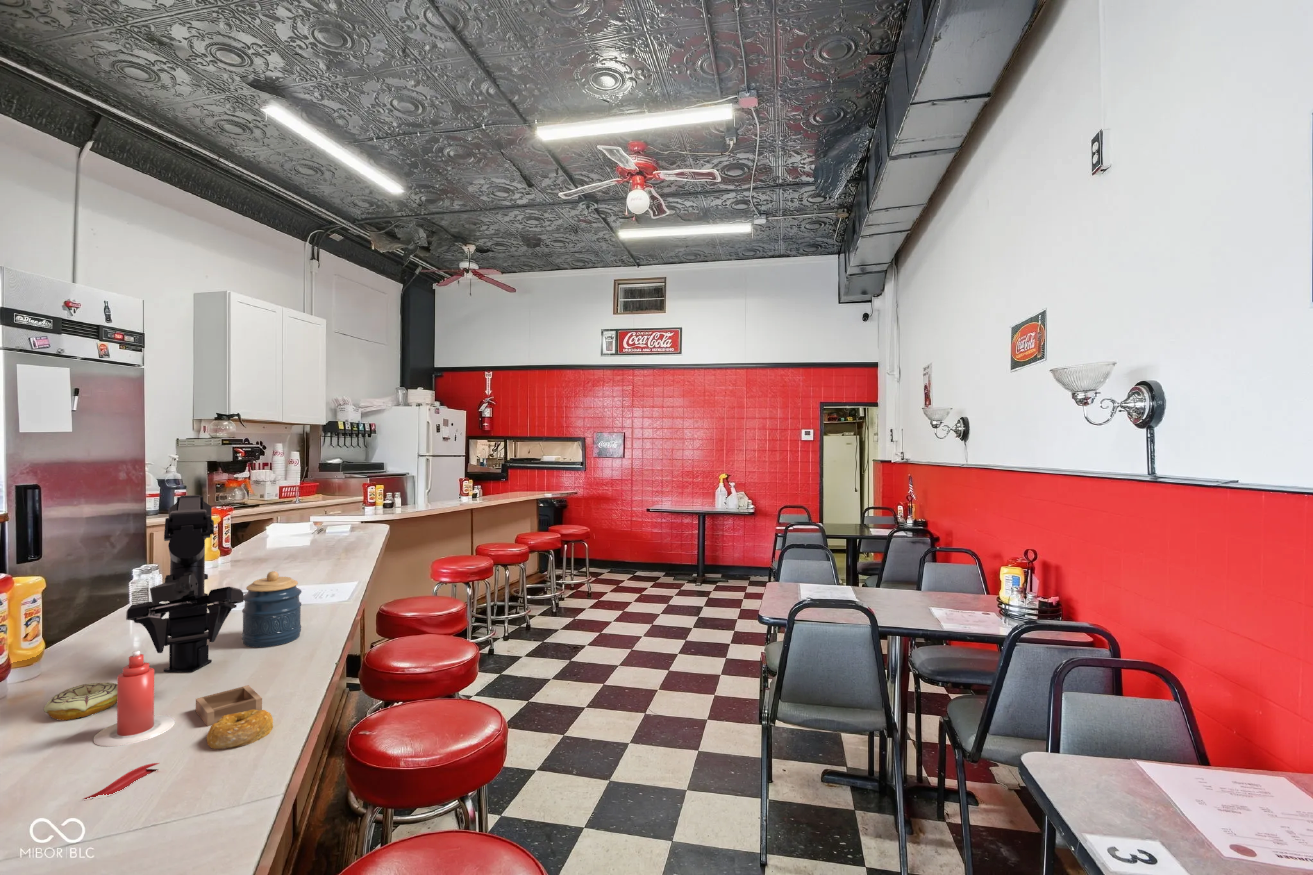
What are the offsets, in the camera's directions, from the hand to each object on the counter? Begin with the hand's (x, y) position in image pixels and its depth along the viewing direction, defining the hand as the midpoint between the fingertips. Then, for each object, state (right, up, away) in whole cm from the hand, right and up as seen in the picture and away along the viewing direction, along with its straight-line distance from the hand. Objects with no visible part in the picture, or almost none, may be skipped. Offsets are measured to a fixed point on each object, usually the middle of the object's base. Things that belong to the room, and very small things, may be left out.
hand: (186, 647), depth 122 cm
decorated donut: (-17, -11, -4) cm, 20 cm away
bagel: (+20, -12, -14) cm, 27 cm away
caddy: (+12, -11, -5) cm, 17 cm away
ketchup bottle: (+1, -10, -13) cm, 17 cm away
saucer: (+1, -11, -13) cm, 17 cm away
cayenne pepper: (+13, -12, -28) cm, 33 cm away
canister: (-5, -10, +36) cm, 38 cm away
